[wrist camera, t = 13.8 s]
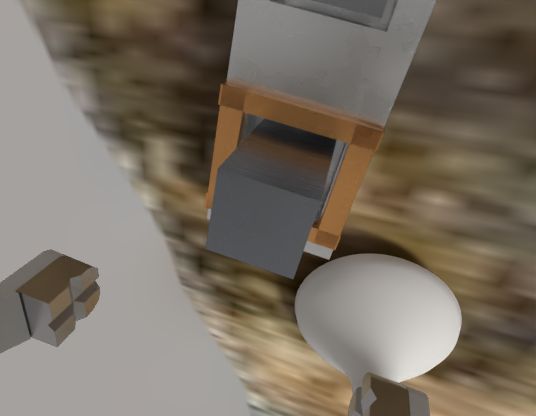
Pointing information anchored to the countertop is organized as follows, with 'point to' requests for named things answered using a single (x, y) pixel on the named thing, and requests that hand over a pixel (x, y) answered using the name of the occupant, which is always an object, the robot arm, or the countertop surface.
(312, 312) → the flower in vase
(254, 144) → the gray rectangular block
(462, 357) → the countertop surface
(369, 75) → the rail
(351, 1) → the switch
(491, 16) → the countertop surface
